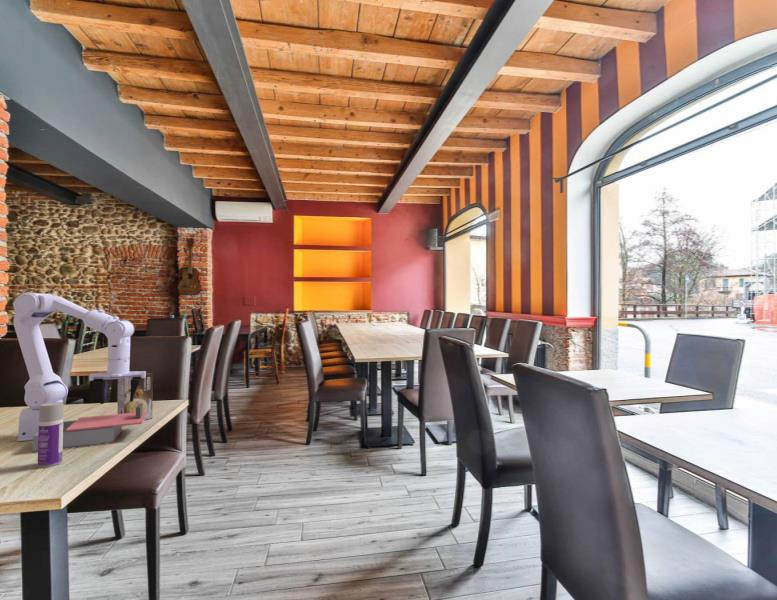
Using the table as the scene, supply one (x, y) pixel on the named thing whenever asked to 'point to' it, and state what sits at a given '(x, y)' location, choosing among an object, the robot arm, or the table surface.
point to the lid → (109, 420)
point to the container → (50, 434)
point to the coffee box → (141, 395)
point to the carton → (84, 436)
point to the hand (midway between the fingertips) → (117, 402)
